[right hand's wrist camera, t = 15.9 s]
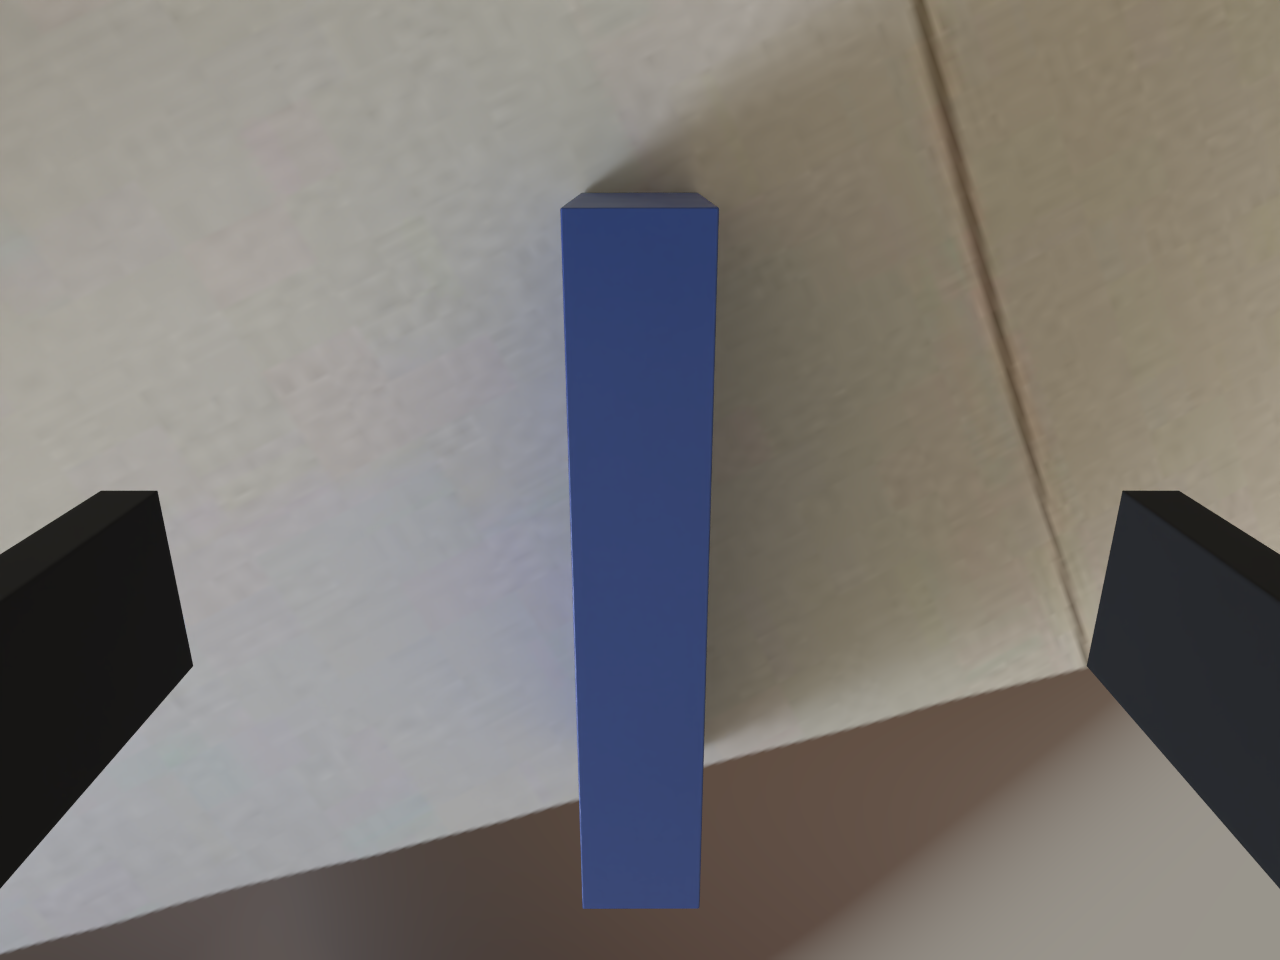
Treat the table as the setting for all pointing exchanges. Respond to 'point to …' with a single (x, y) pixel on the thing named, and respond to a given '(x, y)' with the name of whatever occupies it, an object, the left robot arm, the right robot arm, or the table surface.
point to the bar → (640, 533)
